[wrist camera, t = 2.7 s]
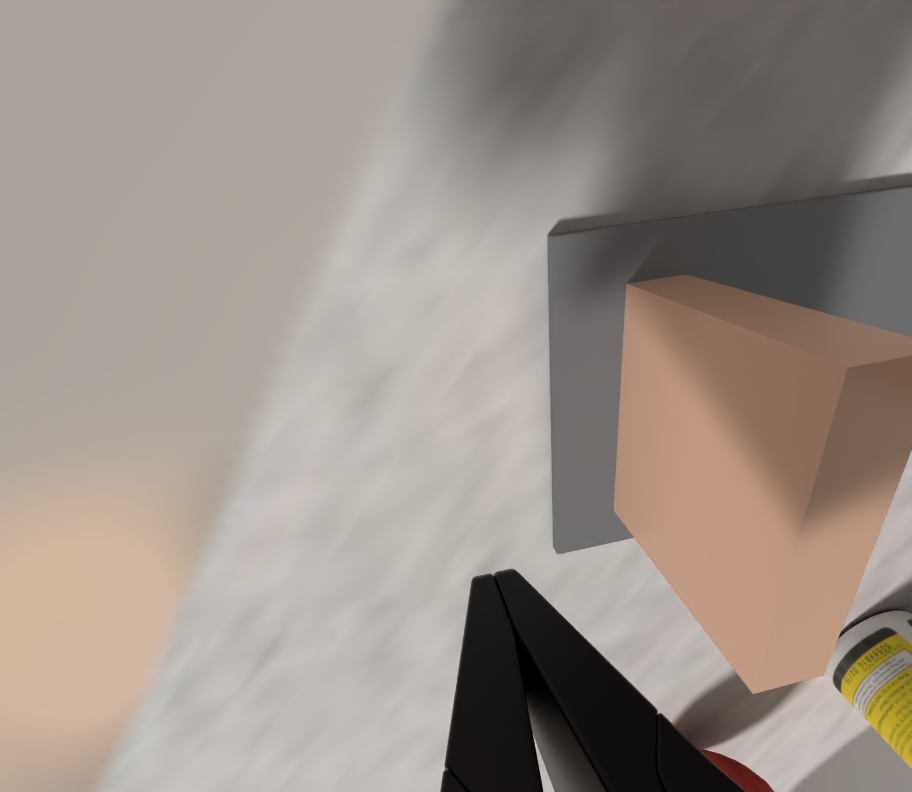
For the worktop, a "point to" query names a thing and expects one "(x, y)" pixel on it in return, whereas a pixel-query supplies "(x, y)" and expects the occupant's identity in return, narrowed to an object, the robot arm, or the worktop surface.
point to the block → (759, 463)
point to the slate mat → (714, 259)
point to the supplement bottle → (879, 675)
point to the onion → (738, 773)
